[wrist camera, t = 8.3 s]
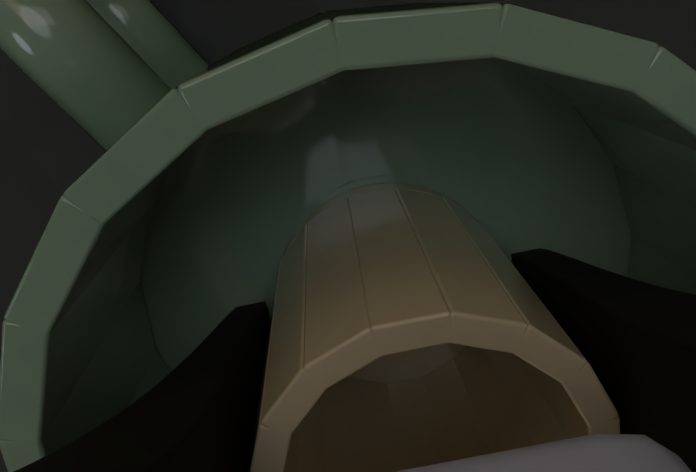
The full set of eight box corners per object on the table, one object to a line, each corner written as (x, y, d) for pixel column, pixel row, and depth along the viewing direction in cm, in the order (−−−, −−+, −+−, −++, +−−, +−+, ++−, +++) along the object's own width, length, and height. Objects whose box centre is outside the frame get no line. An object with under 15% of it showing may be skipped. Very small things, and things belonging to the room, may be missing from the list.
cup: (486, 161, 13) (617, 280, 7) (507, 363, 15) (626, 580, 9) (251, 207, 13) (206, 359, 8) (301, 402, 15) (295, 641, 9)
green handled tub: (730, 296, 15) (974, 466, 10) (357, 553, 18) (378, 810, 12) (304, -323, 10) (296, -702, 5) (-131, 143, 13) (-476, 253, 7)
